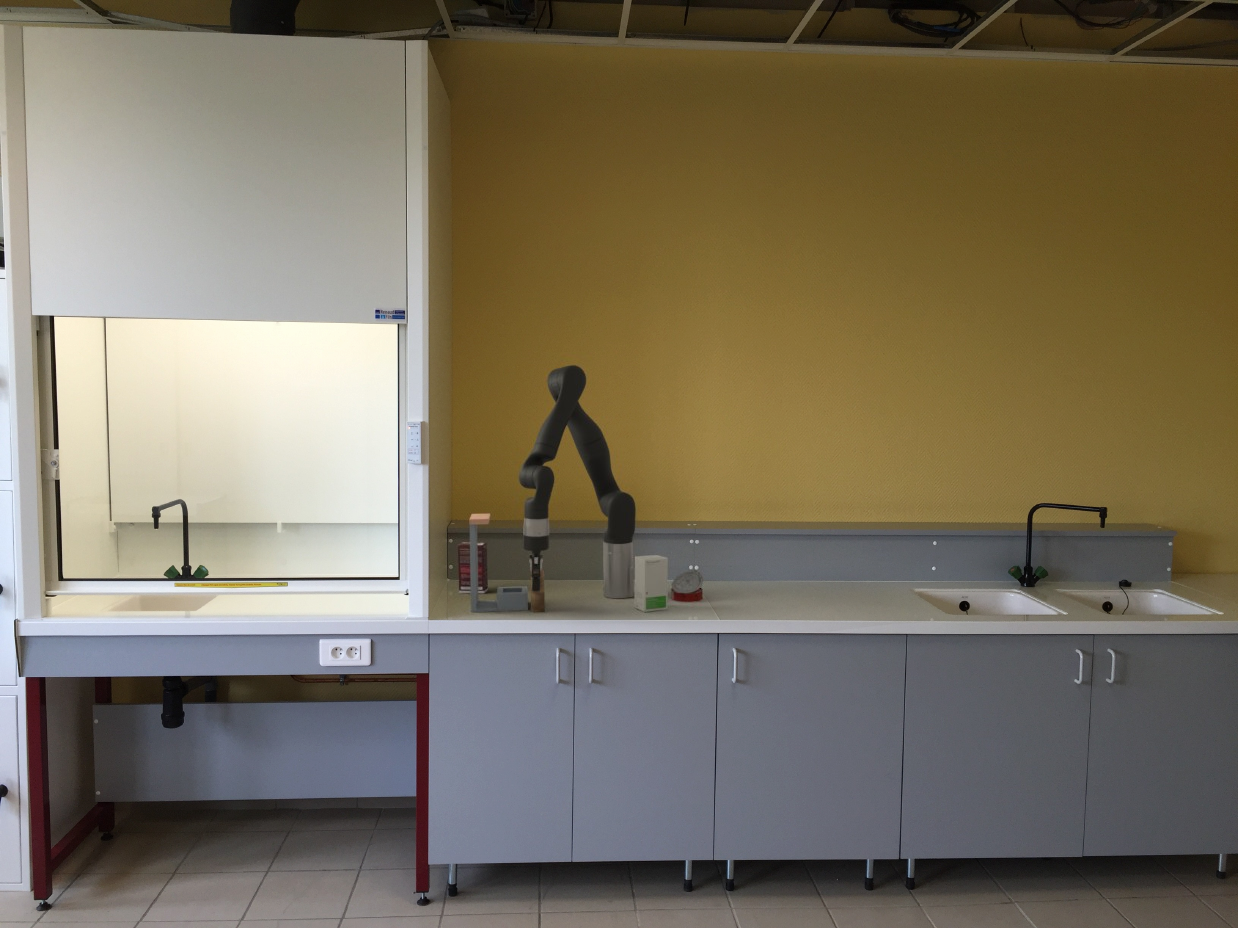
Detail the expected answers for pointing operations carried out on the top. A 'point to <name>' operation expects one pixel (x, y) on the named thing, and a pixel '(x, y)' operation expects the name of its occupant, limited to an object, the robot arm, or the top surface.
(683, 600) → the canned food
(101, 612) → the top surface
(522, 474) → the robot arm
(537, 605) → the peg
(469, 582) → the supplement box
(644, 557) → the skincare box
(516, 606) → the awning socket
